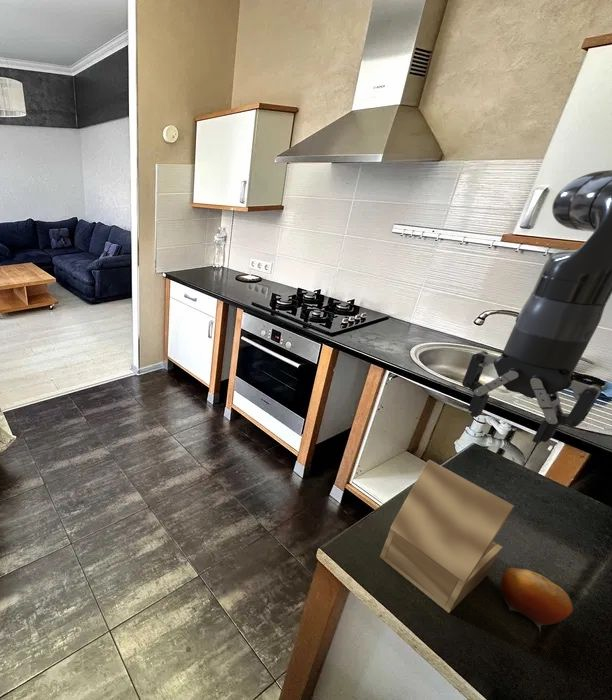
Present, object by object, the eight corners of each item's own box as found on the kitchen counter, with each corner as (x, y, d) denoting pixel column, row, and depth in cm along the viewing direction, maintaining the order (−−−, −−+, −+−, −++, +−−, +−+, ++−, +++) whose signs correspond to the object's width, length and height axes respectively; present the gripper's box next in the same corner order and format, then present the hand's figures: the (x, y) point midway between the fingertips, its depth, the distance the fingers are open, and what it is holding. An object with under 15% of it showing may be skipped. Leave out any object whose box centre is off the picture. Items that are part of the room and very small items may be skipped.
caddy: (418, 527, 77) (429, 501, 74) (487, 575, 68) (503, 547, 65) (379, 557, 71) (390, 529, 68) (448, 613, 61) (464, 584, 58)
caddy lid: (429, 459, 64) (428, 459, 64) (515, 506, 55) (513, 506, 55) (391, 527, 68) (389, 528, 67) (466, 582, 59) (464, 583, 58)
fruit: (493, 610, 61) (513, 565, 60) (489, 596, 67) (507, 555, 66) (565, 650, 55) (586, 601, 55) (553, 632, 61) (572, 587, 61)
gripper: (638, 342, 48) (577, 445, 54) (499, 311, 59) (463, 400, 66) (621, 353, 44) (557, 462, 51) (477, 318, 56) (441, 411, 63)
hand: (504, 427), depth 59 cm, fingers open, 7 cm apart
